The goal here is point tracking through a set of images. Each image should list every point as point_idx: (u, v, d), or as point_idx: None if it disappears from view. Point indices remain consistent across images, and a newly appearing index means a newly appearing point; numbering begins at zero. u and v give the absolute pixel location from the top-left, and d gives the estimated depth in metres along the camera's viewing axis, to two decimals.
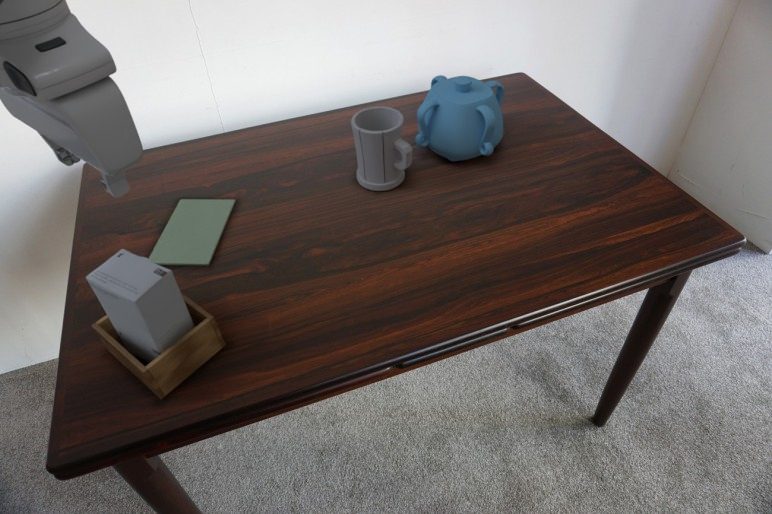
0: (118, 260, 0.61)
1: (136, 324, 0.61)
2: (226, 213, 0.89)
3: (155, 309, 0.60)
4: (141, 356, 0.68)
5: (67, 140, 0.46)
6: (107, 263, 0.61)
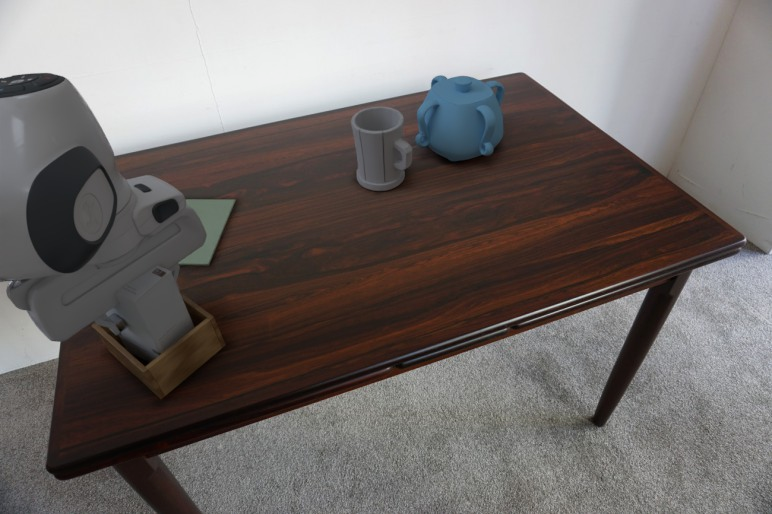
0: None
1: (136, 325, 0.61)
2: (226, 213, 0.89)
3: (154, 310, 0.60)
4: (141, 356, 0.68)
5: (164, 258, 0.61)
6: None
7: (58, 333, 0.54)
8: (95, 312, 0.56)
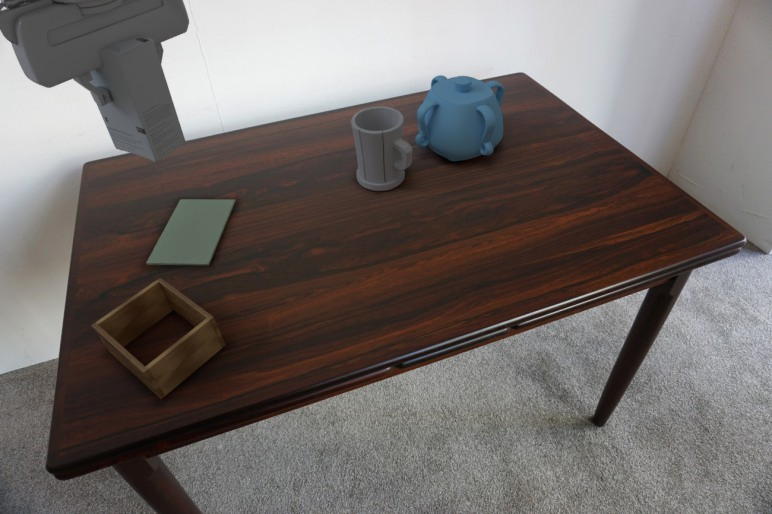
0: None
1: (120, 93, 0.63)
2: (226, 213, 0.89)
3: (138, 76, 0.62)
4: (127, 147, 0.71)
5: (147, 30, 0.64)
6: None
7: (44, 74, 0.57)
8: (80, 65, 0.59)
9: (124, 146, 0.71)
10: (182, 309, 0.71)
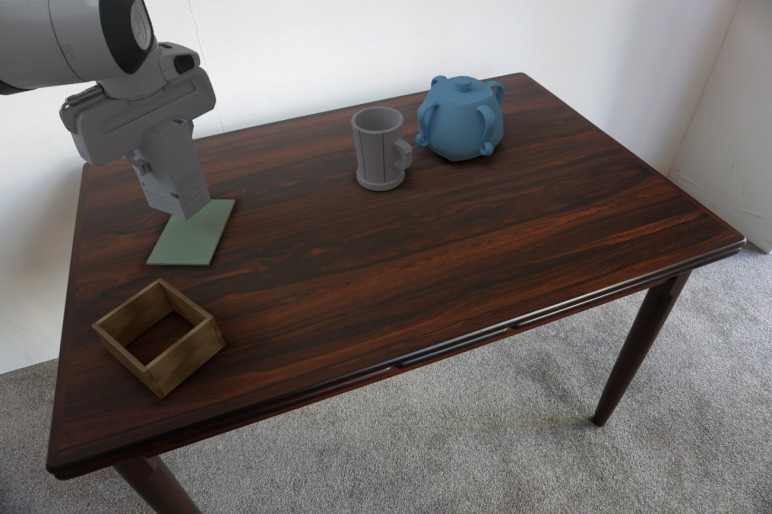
0: None
1: (158, 166, 0.74)
2: (226, 213, 0.89)
3: (174, 152, 0.73)
4: (160, 207, 0.81)
5: (182, 112, 0.74)
6: None
7: (98, 157, 0.67)
8: (126, 146, 0.69)
9: (158, 206, 0.81)
10: (182, 309, 0.71)
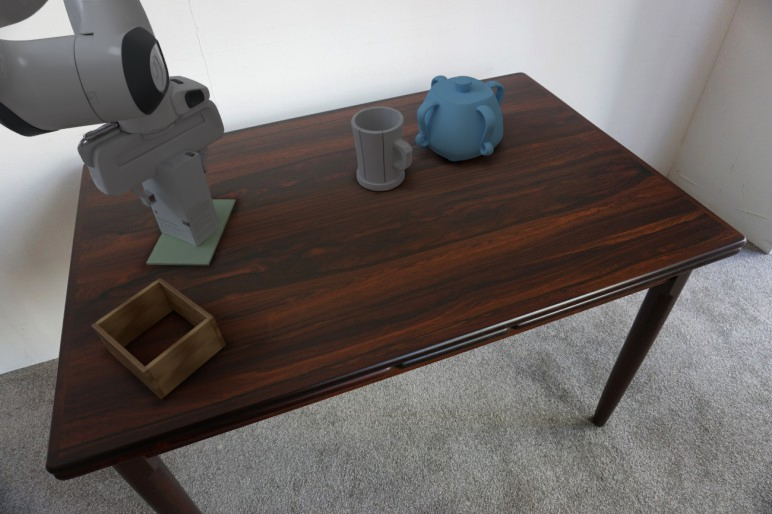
0: None
1: (171, 196, 0.77)
2: (226, 213, 0.89)
3: (186, 183, 0.76)
4: (171, 233, 0.85)
5: (192, 142, 0.77)
6: None
7: (113, 188, 0.70)
8: (140, 177, 0.73)
9: (169, 232, 0.85)
10: (182, 309, 0.71)
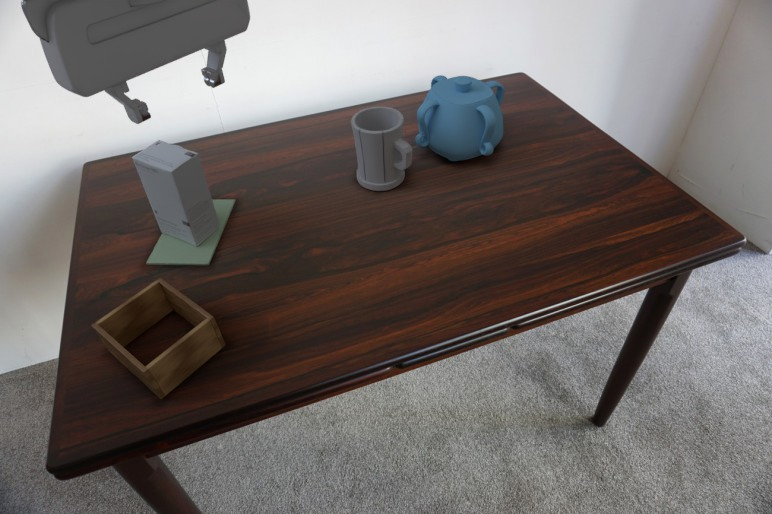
0: (156, 146, 0.78)
1: (171, 196, 0.77)
2: (226, 213, 0.89)
3: (186, 183, 0.76)
4: (171, 233, 0.85)
5: (204, 27, 0.52)
6: (148, 148, 0.77)
7: (82, 80, 0.45)
8: (125, 69, 0.47)
9: (169, 232, 0.85)
10: (182, 309, 0.71)
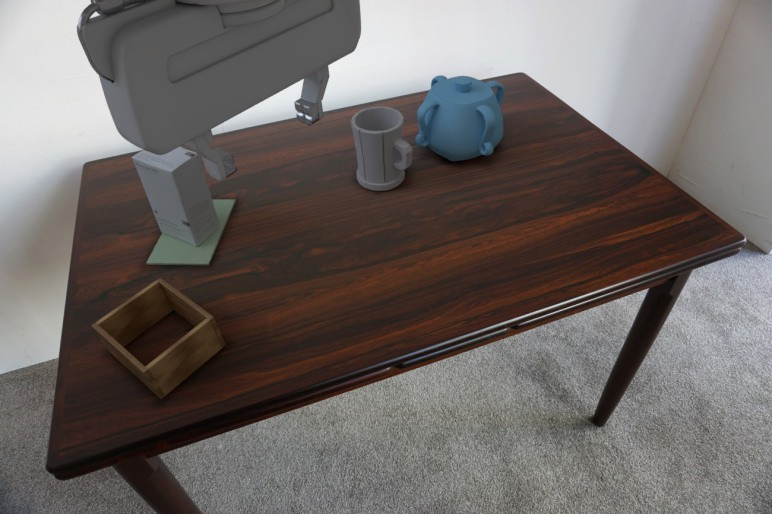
0: None
1: (171, 196, 0.77)
2: (226, 213, 0.89)
3: (186, 183, 0.76)
4: (171, 233, 0.85)
5: (309, 50, 0.38)
6: None
7: (157, 134, 0.31)
8: (212, 113, 0.34)
9: (169, 232, 0.85)
10: (182, 309, 0.71)
